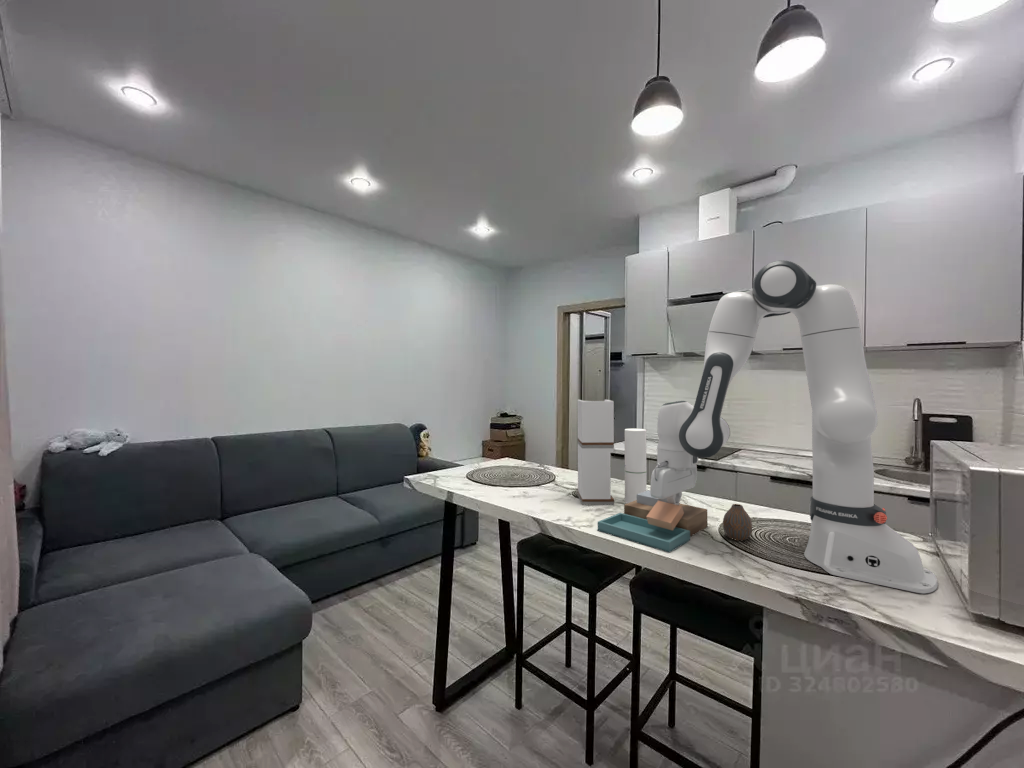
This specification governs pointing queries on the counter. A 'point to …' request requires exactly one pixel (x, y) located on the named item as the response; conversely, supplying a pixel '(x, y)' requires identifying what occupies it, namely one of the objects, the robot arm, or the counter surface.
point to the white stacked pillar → (595, 451)
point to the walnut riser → (690, 520)
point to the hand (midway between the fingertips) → (674, 508)
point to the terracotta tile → (665, 515)
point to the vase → (737, 523)
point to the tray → (644, 532)
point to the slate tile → (648, 499)
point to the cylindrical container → (635, 463)
